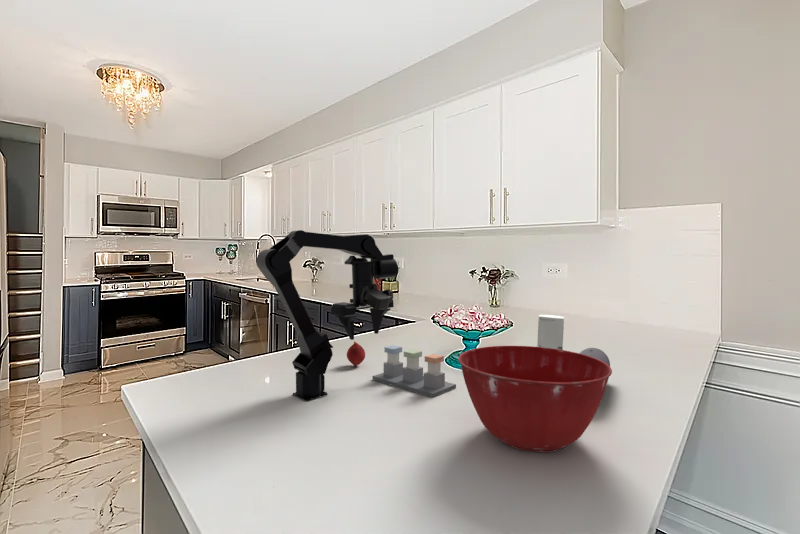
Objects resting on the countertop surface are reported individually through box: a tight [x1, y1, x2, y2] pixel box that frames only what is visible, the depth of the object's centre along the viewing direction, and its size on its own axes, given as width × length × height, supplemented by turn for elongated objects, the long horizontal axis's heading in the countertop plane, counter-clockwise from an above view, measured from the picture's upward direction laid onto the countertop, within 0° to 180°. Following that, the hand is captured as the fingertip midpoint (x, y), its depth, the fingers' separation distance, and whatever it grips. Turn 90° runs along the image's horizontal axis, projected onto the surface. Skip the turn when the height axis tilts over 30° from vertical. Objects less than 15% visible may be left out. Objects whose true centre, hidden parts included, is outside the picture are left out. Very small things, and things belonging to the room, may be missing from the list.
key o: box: [384, 344, 403, 365], centre depth 122 cm, size 4×4×5 cm
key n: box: [403, 349, 423, 370], centre depth 117 cm, size 4×4×5 cm
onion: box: [346, 340, 366, 367], centre depth 135 cm, size 6×6×8 cm
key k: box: [424, 353, 445, 375], centre depth 112 cm, size 4×4×5 cm
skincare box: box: [536, 314, 565, 350], centre depth 142 cm, size 8×6×15 cm
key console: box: [372, 361, 457, 399], centre depth 117 cm, size 10×22×4 cm, turn 47°
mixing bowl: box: [457, 345, 613, 453], centre depth 84 cm, size 28×28×15 cm
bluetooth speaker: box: [578, 347, 611, 367], centre depth 110 cm, size 23×9×10 cm, turn 149°
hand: (364, 336), depth 117 cm, fingers open, 9 cm apart
